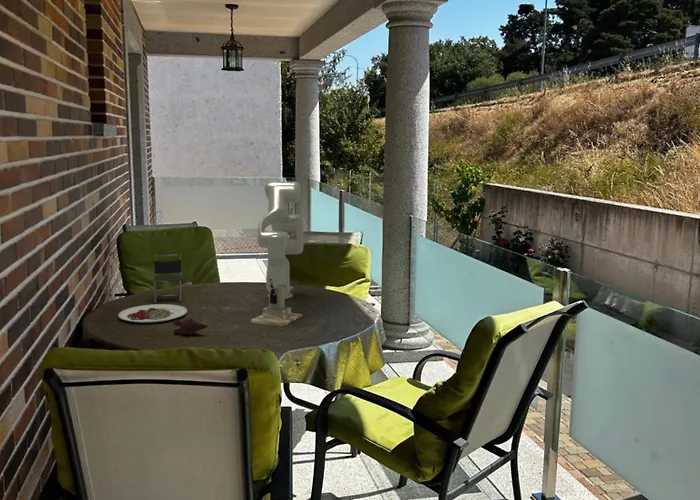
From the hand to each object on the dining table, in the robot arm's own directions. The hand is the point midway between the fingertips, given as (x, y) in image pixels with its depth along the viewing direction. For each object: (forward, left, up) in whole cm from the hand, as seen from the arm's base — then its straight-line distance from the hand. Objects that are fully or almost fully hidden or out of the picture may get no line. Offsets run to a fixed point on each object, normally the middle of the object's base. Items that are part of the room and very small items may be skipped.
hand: (277, 301), depth 292 cm
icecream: (+35, -20, -8) cm, 41 cm away
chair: (-8, -68, -8) cm, 69 cm away
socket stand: (0, 0, -8) cm, 8 cm away
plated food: (+19, -54, -9) cm, 58 cm away
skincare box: (0, 0, -5) cm, 5 cm away
